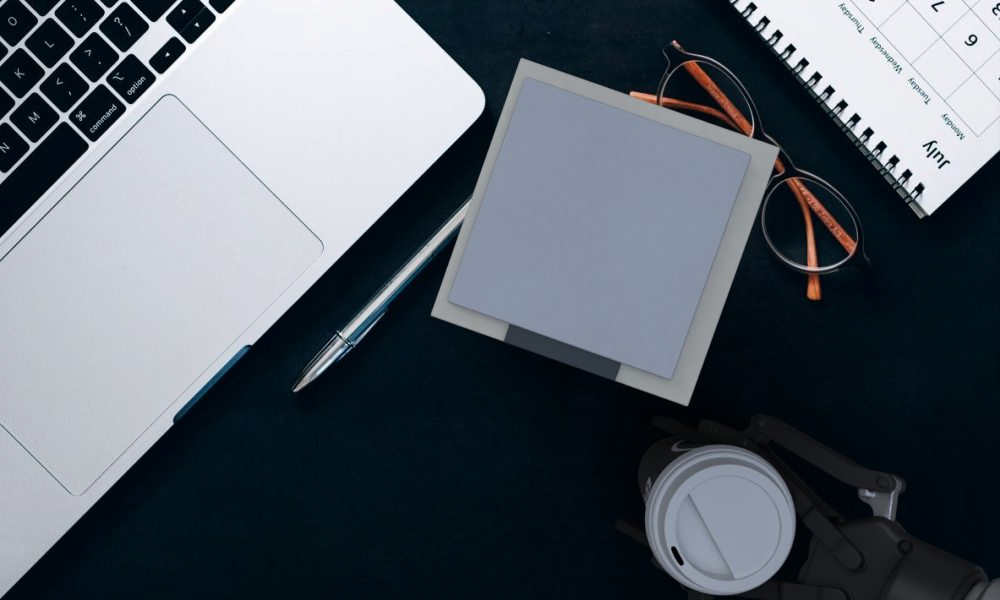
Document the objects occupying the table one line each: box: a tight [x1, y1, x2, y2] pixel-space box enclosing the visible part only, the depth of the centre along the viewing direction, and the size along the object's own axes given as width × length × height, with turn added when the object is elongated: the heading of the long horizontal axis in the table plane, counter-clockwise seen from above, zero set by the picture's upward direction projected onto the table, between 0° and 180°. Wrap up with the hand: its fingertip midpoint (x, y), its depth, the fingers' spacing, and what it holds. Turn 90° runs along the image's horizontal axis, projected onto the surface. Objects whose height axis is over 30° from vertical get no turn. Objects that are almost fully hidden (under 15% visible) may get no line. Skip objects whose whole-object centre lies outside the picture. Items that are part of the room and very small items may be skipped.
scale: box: [430, 57, 781, 407], centre depth 42 cm, size 14×14×3 cm
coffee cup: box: [637, 435, 797, 596], centre depth 57 cm, size 10×10×15 cm
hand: (644, 472), depth 61 cm, fingers closed on coffee cup, 7 cm apart
